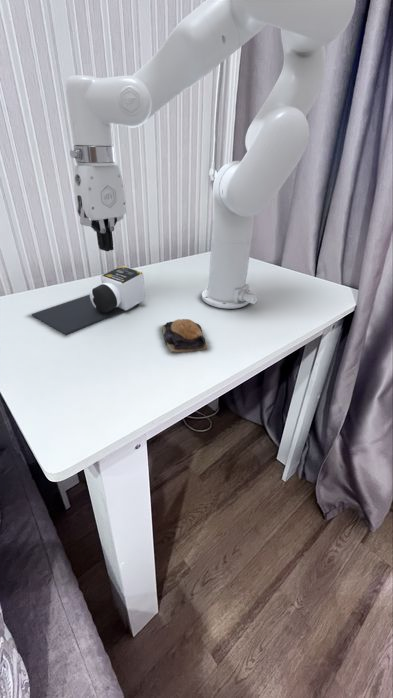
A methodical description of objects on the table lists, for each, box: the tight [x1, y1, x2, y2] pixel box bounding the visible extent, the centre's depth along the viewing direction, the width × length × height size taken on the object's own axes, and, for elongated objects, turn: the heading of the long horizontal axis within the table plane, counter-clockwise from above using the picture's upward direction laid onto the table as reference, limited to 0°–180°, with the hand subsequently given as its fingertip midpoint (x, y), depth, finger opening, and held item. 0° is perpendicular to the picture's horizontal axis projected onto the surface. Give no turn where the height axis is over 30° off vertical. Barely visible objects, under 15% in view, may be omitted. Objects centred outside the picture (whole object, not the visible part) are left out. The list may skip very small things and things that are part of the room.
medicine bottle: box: [89, 265, 147, 313], centre depth 78 cm, size 7×7×12 cm
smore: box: [161, 318, 208, 354], centre depth 68 cm, size 11×8×4 cm
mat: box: [31, 294, 139, 336], centre depth 78 cm, size 13×20×1 cm, turn 142°
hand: (106, 249), depth 75 cm, fingers closed
